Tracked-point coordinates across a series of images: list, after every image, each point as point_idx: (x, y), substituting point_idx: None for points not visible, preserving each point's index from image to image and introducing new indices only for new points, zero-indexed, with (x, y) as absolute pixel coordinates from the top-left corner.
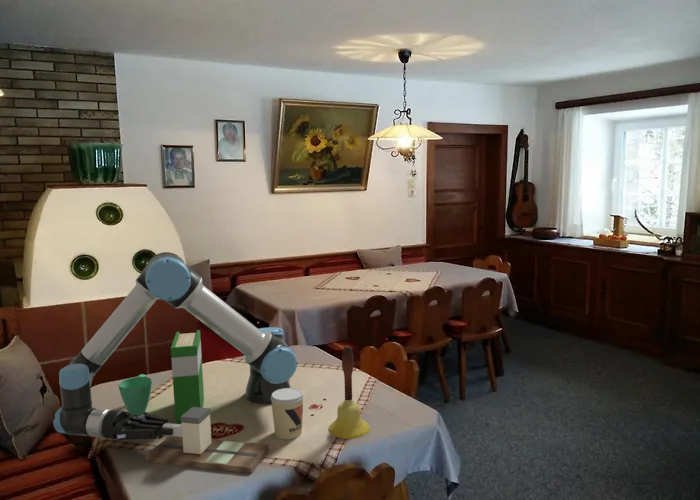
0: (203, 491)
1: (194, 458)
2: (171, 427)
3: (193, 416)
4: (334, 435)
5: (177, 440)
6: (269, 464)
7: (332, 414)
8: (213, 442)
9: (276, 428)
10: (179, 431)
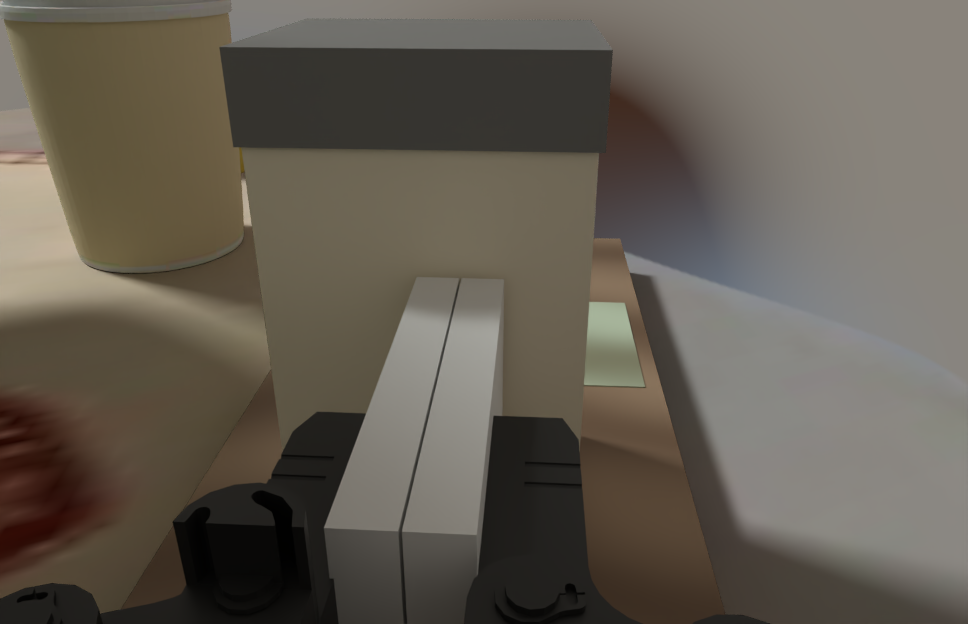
0: (909, 365)
1: (623, 457)
2: (490, 412)
3: (561, 27)
4: (241, 169)
5: None
6: None
7: (4, 186)
8: None
9: (201, 205)
10: (499, 383)
